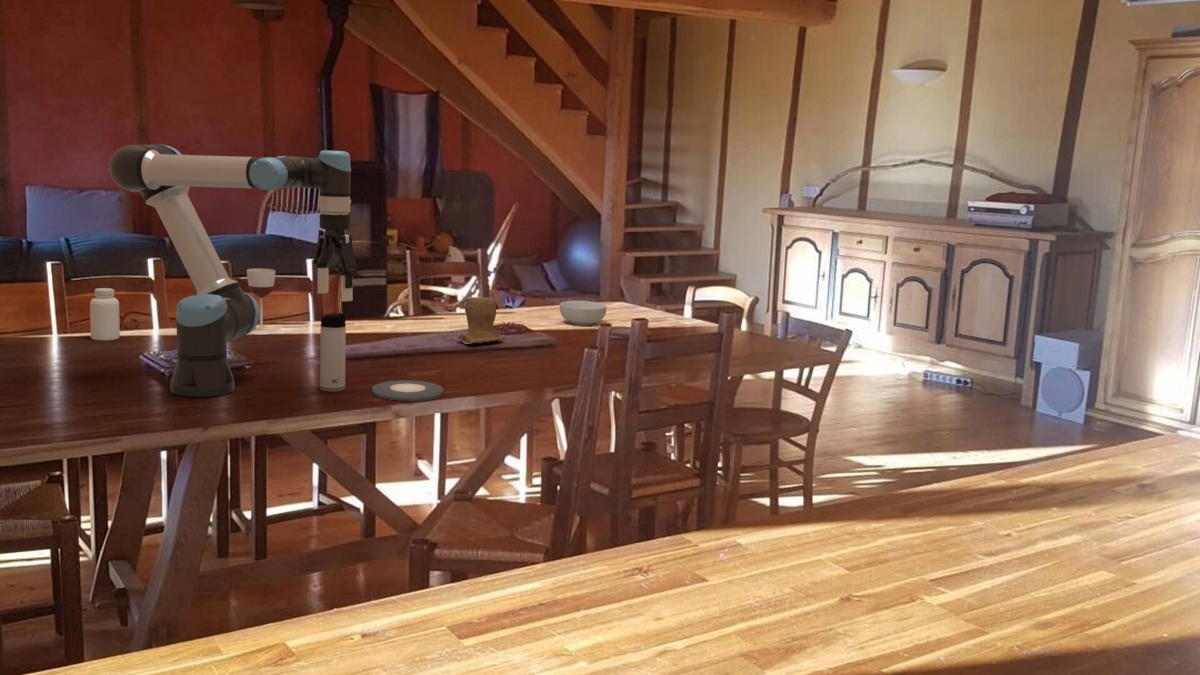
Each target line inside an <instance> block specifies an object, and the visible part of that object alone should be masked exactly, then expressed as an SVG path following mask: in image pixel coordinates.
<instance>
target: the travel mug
mask: <svg viewBox="0 0 1200 675" xmlns="http://www.w3.org/2000/svg"><path fill="white" fill-rule="evenodd" d="M346 317H348V315H347V313H346V312H345V313H342V312H340V313H338V312H337V313H329V314H324V315H323V316H320V337H319V339H320V347H319V348H320V349H319V350H320V354H319V355H320V356H319V362H320V363H319V366H320V368H319V369H320V370H319V371H320V372H319V375H320V376H319V379H320V380H319V382H320V383H319V387H320V390H321V391H323V392H328V393H329V392H330V393H334V392H335V393H337V392H338V393H339V392H342V391H344V390H345V389H346V350H347V349H346V345H347V344H346V338H347V337H346V336H347V335H346V334H347V331H346V330H347V328H346V327H347V326H346V325H347V324H346V320H347V319H346Z"/></svg>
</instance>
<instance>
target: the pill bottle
mask: <svg viewBox="0 0 1200 675" xmlns="http://www.w3.org/2000/svg"><path fill="white" fill-rule="evenodd" d="M94 296H95V297H93V298H91V300H90V302H89V314H90V315H89V319H90V320H89V321H90V322H89V323H90V338H91V339H92V340H94V341H99V342H100V341H101V342H102V341H103V342H107V341H116V340H119V339H120V335H121V334H120V332H121V331H120V302H119V300H118V299H117V298H116V297H114V296H115V289H113V288H109V287H103V288H102V287H100V288H95V289H94Z"/></svg>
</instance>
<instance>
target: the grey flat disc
mask: <svg viewBox="0 0 1200 675" xmlns="http://www.w3.org/2000/svg"><path fill="white" fill-rule="evenodd" d="M371 392H372V395H373V396H374V397H376V398H378V399H381V398H383V399H382V400H385V399H388V400H387V401H391V400H397V401H396V402H403V401H408V402H412V403H413V402H415V403H416V402H426V401H427V402H428V401H432V400H435V399H439V398H441V397H442V396H443V395H444V388H443V387H442V386H441V385H439V384H437V383H433V382H430V381H422V380H408V379H406V380H403V379H402V380H389V381H382V382H380V383H376V384H374V385H373V386H372V389H371Z"/></svg>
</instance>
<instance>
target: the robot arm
mask: <svg viewBox="0 0 1200 675" xmlns="http://www.w3.org/2000/svg"><path fill="white" fill-rule="evenodd" d="M108 164H109V165H108V172H109V173H110V177H111V178H112V181H113V182H114V183H115V184H116V185H117V186H118V187H119V188H121V189H123V190H125V191H128V192H133V193H140V194H141V196H142V198H143V200H144V202H145V204H146V205H147V206H150V207H153V208H155V210H156V212H157V214H158V216H159V218H160V220H161V222H162V224H163V226H164V227H165V230H166V232H167V234H168V236H169V238H170V240H171V242H172V243H173V246H174V248H175V250H176V251H177V254H178V256H179V258H180V260H181V261H182V264H183V265H184V268H185V270H186V272H187V274H188V276H189V278H190V280H191V282H192V284H193V285H194V287H195V289H196V295H190V296H186V297H184V298H182V299H181V300H179V301H178V303H177V304H176V313H175V320H176V323H175V324H176V352H177V354H176V357H177V358H176V359H177V360H176V364H175V367H174V370H173V373H172V377H171V379H170V383H169V384H170V388H169V389H170V393H171V394H173V395H176V396H181V397H188V398H189V397H191V398H211V397H212V398H213V397H218V396H224V395H228V394H231V393H233V392H234V391H235V388H236V387H235V379H234V375H233V373H232V370H231V368H230V364H229V362H228V355H227V353H228V348H227V346H228V342H232V341H233V340H238V339H241V338H243V337H246V336H247V335H248V334H251V333H250V332H252V331H253V330H255V328H256V327H257V325H258V324H259V321H260V306H259V305H258V302H257V301H256V299H255V298H254V297H253V296H252V295H251V294H249V293H247V292H245V291H243V290H242V287H241V286H240V283H239V281H238V280H235V279H232V278H230V277H229V275H228V273H227V271H226V269H225V267H224V265H223V263H222V261H221V259H220V257H219V255H218V253H217V251H216V249H215V247H214V245H213V243H212V241H211V238H210V237H209V235H208V233H207V231H206V229H205V227H204V226H203V225H204V224H202V221H201V219H200V217H199V215H198V213H197V211H196V209H195V206H194V205H193V203H192V201H191V199H190V197H189V194H188V193H189V191H190V188H191V187H192V188H193V187H195V188H196V187H197V188H198V187H199V188H200V187H201V188H225V189H226V188H230V189H231V188H232V189H257V190H258V189H259V190H264V191H275V190H280V189H293V188H307V189H319V195H318V196H319V198H318V200H319V201H318V202H319V203H318V204H319V206H318V207H319V212H321V213H320V214H319V228H320V229H319V230H318V236H317V243H316V247H315V251H314V256H313V260H312V261H313V262H312V263H313V265H315V268H316V269H317V294H329V285H330V284H329V281H330V280H329V278H330V277H329V273H330V272H329V270H330V269H329V267H330V265H329V262H330V260H331V258H332V256H333V253H334V254H336V256H337V259H338V260H337V261H338V263H339V264H340V268H341V271H342V272H341V274H340V276H341V278H340V280H341V284H340V286H341V287H340V288H341V289H340V292H341V293H340V294H341V295H340V297H341V300H340V302H353V299H354V298H353V295H354V294H353V291H354V290H353V288H354V286H353V285H354V284H353V283H354V278H353V277H354V276H355V274H358V273H359V272H358V265H357V260H356V257H355V256H356V255H355V251H354V247H353V237H352V234H346V230H347V231H348V230H350V229H351V214H349V213H350V212H351V203H352V199H351V176H352V174H351V172H352V168H351V156H350V154H349V152H347V151H346V150H345V151H343V150H341V151H340V150H321V151H320V152H319V155H318V157H306V156H305V157H303V156H291V155H283V156H282V155H281V156H280V155H279V156H275V157H269V156H266V157H264V156H256V157H253V156H234V155H233V156H230V155H229V156H227V155H202V154H201V155H200V154H199V155H198V154H197V155H196V154H195V155H194V154H193V155H192V154H182V153H181V152H180V151H179V150H178V149H177V148H174V147H172V146H169V145H164V144H162V143H152V144H127V145H125V146H121V147H120V148H118V149H117V150H115V152H114V153H113V154H112V155H111V157H110V159H109V162H108Z"/></svg>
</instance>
